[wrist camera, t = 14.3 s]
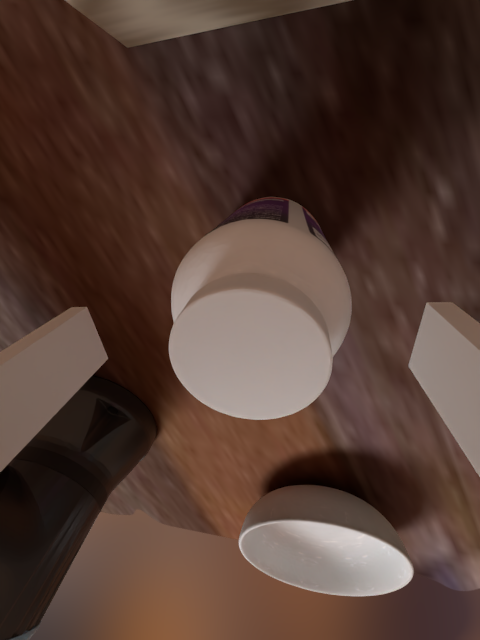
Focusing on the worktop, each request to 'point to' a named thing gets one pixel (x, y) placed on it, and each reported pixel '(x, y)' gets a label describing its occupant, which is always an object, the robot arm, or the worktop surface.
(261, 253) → the pill bottle
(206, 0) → the rack
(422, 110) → the worktop surface
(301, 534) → the serving bowl
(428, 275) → the worktop surface
